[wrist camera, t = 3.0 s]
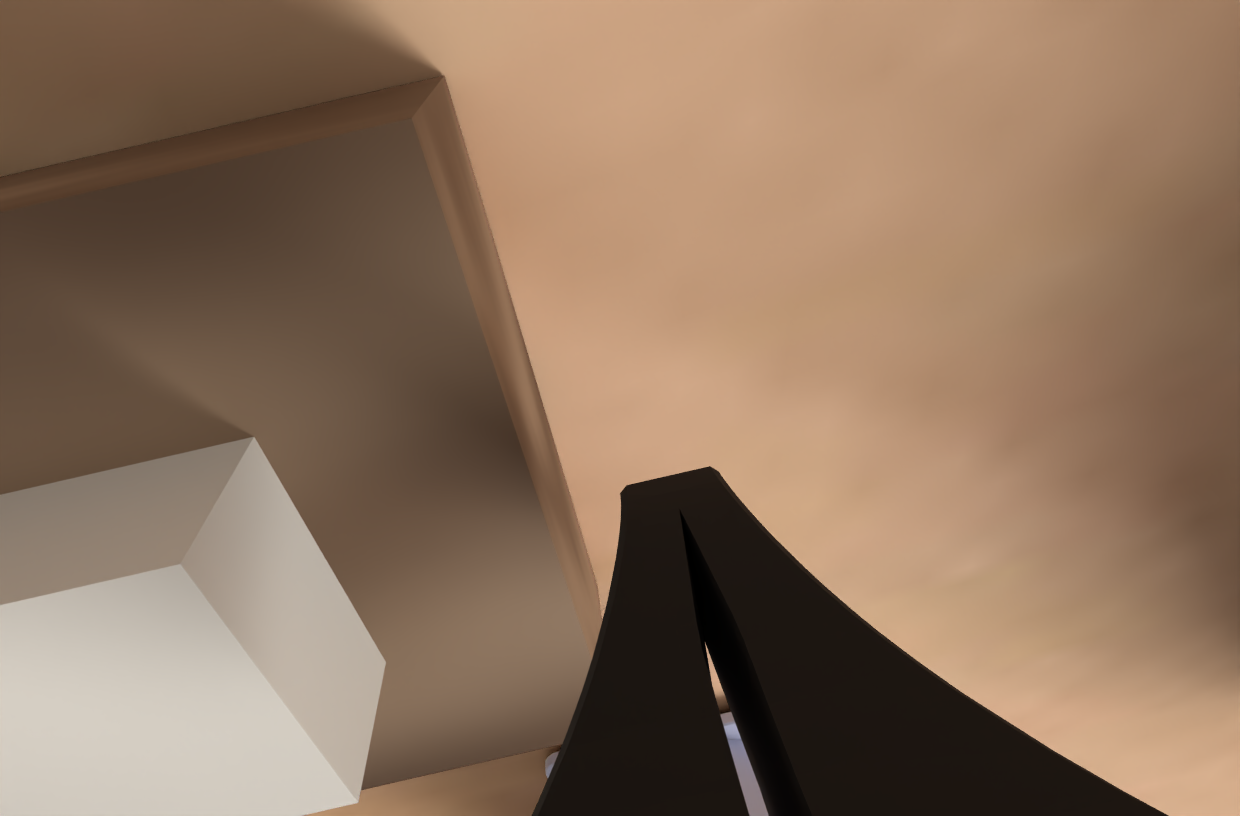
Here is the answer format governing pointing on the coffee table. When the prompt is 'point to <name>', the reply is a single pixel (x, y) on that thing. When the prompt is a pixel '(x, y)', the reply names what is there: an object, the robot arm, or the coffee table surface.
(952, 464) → the coffee table surface
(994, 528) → the coffee table surface
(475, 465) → the brown flat block
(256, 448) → the cream block
